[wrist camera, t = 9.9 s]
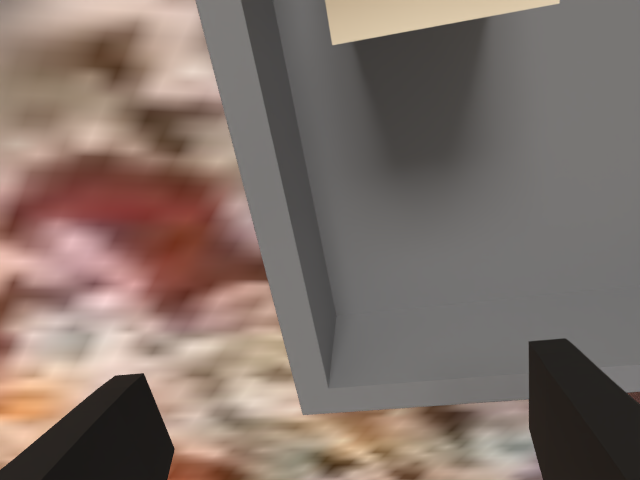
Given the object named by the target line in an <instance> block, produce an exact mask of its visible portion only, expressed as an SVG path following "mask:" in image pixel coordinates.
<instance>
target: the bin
mask: <svg viewBox="0 0 640 480" xmlns="http://www.w3.org/2000/svg"><path fill="white" fill-rule="evenodd" d="M196 4H197V8H198V12H199V16H200V20H201V23H202V27H203V31H204V35H205V39H206V43H207V47H208V50H209V54H210V58H211V62H212V66H213V70H214V74H215V77H216V81H217V85H218V89H219V93H220V97H221V101H222V105H223V108H224V112H225V116H226V120H227V124H228V128H229V132H230V135H231V139H232V143H233V147H234V151H235V155H236V159H237V162H238V166H239V170H240V174H241V178H242V182H243V186H244V189H245V193H246V197H247V201H248V205H249V209H250V213H251V216H252V220H253V224H254V228H255V232H256V236H257V240H258V243H259V247H260V251H261V255H262V259H263V263H264V267H265V270H266V274H267V278H268V282H269V286H270V290H271V294H272V297H273V301H274V305H275V309H276V313H277V317H278V321H279V324H280V328H281V332H282V336H283V340H284V344H285V348H286V351H287V355H288V359H289V363H290V367H291V371H292V375H293V378H294V382H295V386H296V390H297V394H298V398H299V402H300V405H301V409H302V413H303V415H310V414H325V413H339V412H353V411H368V410H382V409H397V408H411V407H425V406H440V405H454V404H468V403H483V402H497V401H512V400H526V399H529V341H538V340H550V339H562V338H566V339H567V340H569V341H570V342H571V343H572V344H573V345H575V346H576V347H577V348H578V349H579V350H580V351H581V352H582V353H583V354H584V355H585V356H586V357H588V358H589V359H590V360H591V361H592V362H593V363H594V364H595V365H596V366H597V367H598V368H599V369H601V370H602V371H603V372H604V373H605V374H606V375H607V376H608V377H609V378H610V379H612V380H613V381H614V382H615V383H616V384H617V385H618V386H619V387H621V388H622V389H623V390H624V391H625V392H626V393H627V392H640V0H560V3H559V4H554V5H549V6H543V7H538V8H532V9H527V10H521V11H516V12H510V13H505V14H500V15H494V16H489V17H483V18H478V19H472V20H467V21H462V22H456V23H451V24H445V25H440V26H434V27H429V28H424V29H418V30H413V31H407V32H402V33H396V34H391V35H385V36H380V37H375V38H369V39H364V40H358V41H353V42H347V43H342V44H337V45H332V40H331V34H330V28H329V22H328V16H327V9H326V3H325V0H196Z"/></svg>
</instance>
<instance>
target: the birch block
mask: <svg viewBox="0 0 640 480" xmlns="http://www.w3.org/2000/svg"><path fill="white" fill-rule="evenodd" d="M325 3H326V9H327V16H328V22H329V28H330V34H331V40H332V45H337V44H342V43H347V42H353V41H358V40H364V39H369V38H375V37H380V36H385V35H391V34H396V33H402V32H407V31H413V30H418V29H424V28H429V27H434V26H440V25H445V24H451V23H456V22H462V21H467V20H472V19H478V18H483V17H489V16H494V15H500V14H505V13H510V12H516V11H521V10H527V9H532V8H538V7H543V6H549V5H554V4H559V3H560V0H325Z"/></svg>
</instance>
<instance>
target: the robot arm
mask: <svg viewBox="0 0 640 480" xmlns="http://www.w3.org/2000/svg"><path fill="white" fill-rule="evenodd" d="M529 429H530V433H531V437H532V441H533V444H534V448H535V452H536V456H537V459H538V463H539V466H540V470H541V473H542V477H543V480H640V404H639V403H638V402H636V401H635V400H634V399H633V398H632V397H631V396H630V395H628V394H627V393H626V392H625V391H624V390H623V389H622V388H621V387H619V386H618V385H617V384H616V383H615V382H614V381H613V380H612V379H610V378H609V377H608V376H607V375H606V374H605V373H604V372H603V371H602V370H601V369H599V368H598V367H597V366H596V365H595V364H594V363H593V362H592V361H591V360H590V359H589V358H588V357H586V356H585V355H584V354H583V353H582V352H581V351H580V350H579V349H578V348H577V347H576V346H575V345H573V344H572V343H571V342H570V341H569V340H567V339H566V338H562V339H550V340H538V341H529ZM173 454H174V446H173V444H172V441H171V439H170V437H169V434H168V432H167V429H166V427H165V424H164V422H163V419H162V417H161V415H160V412H159V410H158V407H157V405H156V402H155V400H154V397H153V395H152V392H151V390H150V388H149V385H148V383H147V380H146V378H145V375H144V373H142V374H130V375H118V376H114V377H113V378H112V379H110V380H109V381H107V382H106V383H105V384H103V385H102V386H101V387H100V388H98V389H97V390H96V391H95V392H93V393H92V394H91V395H90V396H88V397H87V398H86V399H85V400H84V401H82V402H81V403H80V404H79V405H78V406H76V407H75V408H74V409H73V410H72V411H70V412H69V413H68V414H67V415H66V416H65V417H63V418H62V419H61V420H60V421H59V422H57V423H56V424H55V425H54V426H53V427H52V428H50V429H49V430H48V431H47V432H46V433H44V434H43V435H42V436H41V437H40V438H38V439H37V440H36V441H35V442H34V443H32V444H31V445H30V446H29V447H28V448H27V449H25V450H24V451H23V452H22V453H21V454H19V455H18V456H17V457H16V458H15V459H13V460H12V461H11V462H10V463H8V464H7V465H6V466H5V467H3V468H2V469H1V470H0V480H167V478H168V474H169V470H170V466H171V462H172V458H173Z"/></svg>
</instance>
